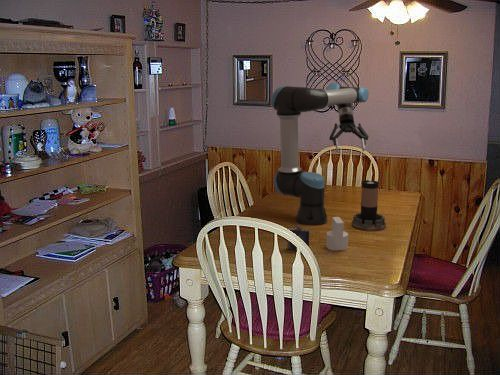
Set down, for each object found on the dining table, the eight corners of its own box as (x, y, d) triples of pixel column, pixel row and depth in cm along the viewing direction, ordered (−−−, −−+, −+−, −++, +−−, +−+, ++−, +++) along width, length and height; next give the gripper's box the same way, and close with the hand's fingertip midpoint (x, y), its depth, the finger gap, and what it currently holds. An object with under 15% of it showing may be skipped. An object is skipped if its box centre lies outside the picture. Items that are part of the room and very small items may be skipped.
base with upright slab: (324, 243, 238) (325, 217, 235) (345, 243, 238) (346, 216, 235) (328, 250, 229) (329, 223, 226) (349, 250, 229) (351, 223, 227)
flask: (286, 249, 231) (286, 225, 228) (288, 247, 233) (288, 223, 231) (308, 252, 228) (308, 227, 225) (309, 249, 231) (310, 225, 228)
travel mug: (366, 226, 257) (368, 184, 252) (356, 221, 264) (358, 180, 259) (379, 224, 260) (382, 182, 255) (370, 219, 267) (372, 179, 262)
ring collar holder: (367, 233, 251) (368, 223, 250) (344, 224, 265) (344, 215, 264) (393, 227, 260) (393, 218, 258) (369, 219, 273) (369, 210, 272)
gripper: (368, 121, 297) (373, 154, 286) (322, 122, 297) (325, 154, 286) (370, 112, 291) (376, 145, 280) (323, 113, 290) (327, 145, 279)
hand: (350, 150), depth 283 cm, fingers open, 13 cm apart
